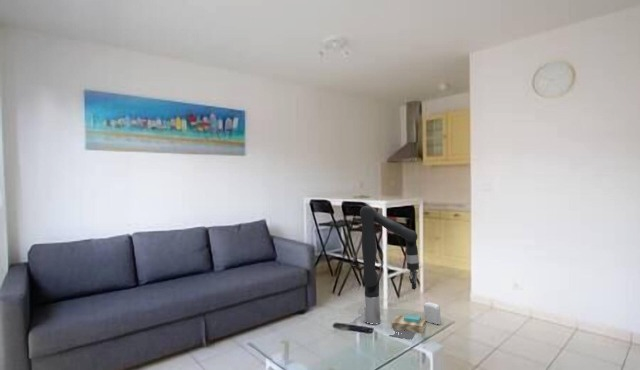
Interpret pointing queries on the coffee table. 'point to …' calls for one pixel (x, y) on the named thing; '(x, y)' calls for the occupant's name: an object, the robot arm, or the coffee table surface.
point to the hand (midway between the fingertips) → (414, 288)
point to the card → (412, 318)
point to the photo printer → (432, 313)
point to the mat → (403, 334)
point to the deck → (408, 324)
